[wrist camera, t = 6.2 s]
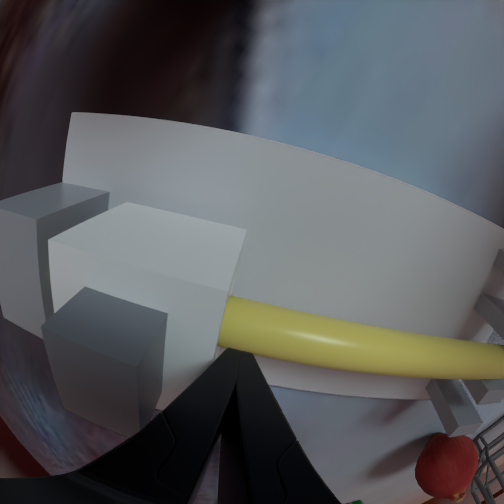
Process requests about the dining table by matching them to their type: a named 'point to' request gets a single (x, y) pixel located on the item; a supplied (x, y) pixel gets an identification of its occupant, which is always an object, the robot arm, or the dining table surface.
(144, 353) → the sleeve
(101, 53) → the dining table surface
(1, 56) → the dining table surface
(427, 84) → the dining table surface
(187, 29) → the dining table surface
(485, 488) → the geometric lantern
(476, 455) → the onion
